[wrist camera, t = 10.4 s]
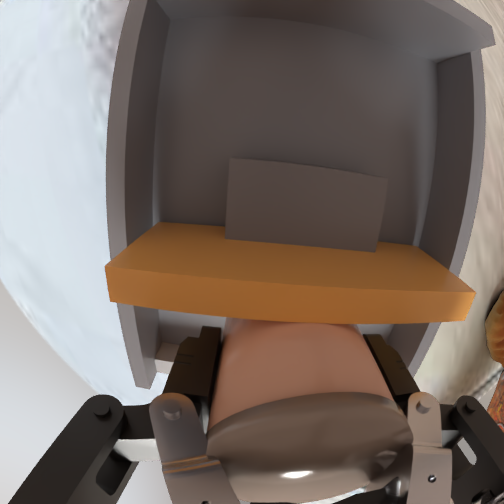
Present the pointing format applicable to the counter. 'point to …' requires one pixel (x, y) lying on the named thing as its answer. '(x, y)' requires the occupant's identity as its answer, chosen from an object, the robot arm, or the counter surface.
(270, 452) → the jar
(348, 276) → the pusher
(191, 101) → the lane
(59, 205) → the counter surface
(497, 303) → the pastry
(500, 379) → the tin
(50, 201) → the counter surface
